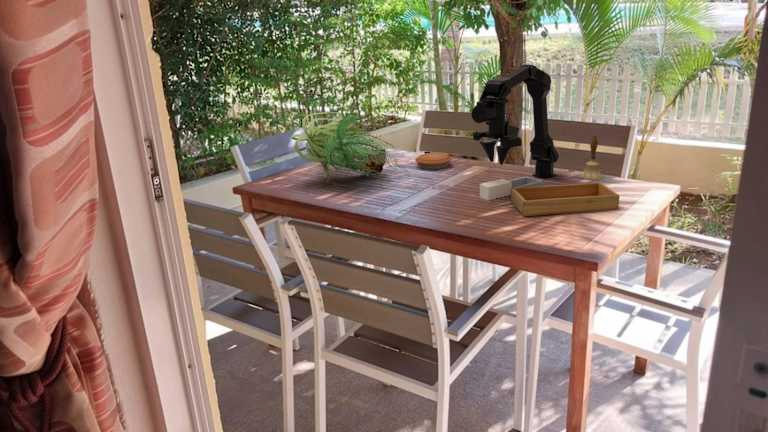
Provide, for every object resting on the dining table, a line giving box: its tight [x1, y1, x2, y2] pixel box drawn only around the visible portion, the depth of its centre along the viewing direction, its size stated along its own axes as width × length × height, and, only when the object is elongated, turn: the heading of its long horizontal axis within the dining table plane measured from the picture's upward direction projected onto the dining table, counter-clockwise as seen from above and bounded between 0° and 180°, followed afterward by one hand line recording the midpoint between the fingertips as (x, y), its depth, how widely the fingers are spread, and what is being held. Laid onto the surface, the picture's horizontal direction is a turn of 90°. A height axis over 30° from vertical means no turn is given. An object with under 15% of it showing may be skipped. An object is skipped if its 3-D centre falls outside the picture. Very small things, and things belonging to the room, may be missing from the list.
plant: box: [291, 109, 415, 187], centre depth 237 cm, size 35×35×40 cm
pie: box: [414, 152, 453, 171], centre depth 254 cm, size 16×16×5 cm
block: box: [479, 178, 512, 201], centre depth 211 cm, size 10×5×5 cm, turn 117°
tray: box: [510, 181, 620, 217], centre depth 197 cm, size 31×15×6 cm, turn 94°
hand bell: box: [579, 134, 604, 181], centre depth 225 cm, size 8×8×16 cm
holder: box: [508, 175, 544, 188], centre depth 217 cm, size 13×9×3 cm, turn 121°
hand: (496, 163), depth 208 cm, fingers open, 5 cm apart
